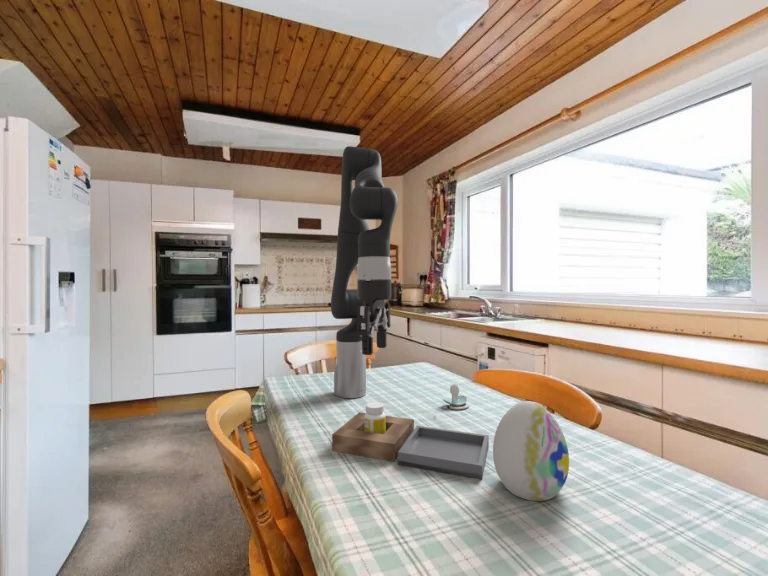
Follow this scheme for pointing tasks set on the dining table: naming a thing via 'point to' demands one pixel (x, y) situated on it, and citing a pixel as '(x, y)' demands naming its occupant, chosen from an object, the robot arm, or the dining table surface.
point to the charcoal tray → (445, 451)
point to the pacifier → (455, 402)
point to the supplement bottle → (375, 418)
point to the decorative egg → (531, 452)
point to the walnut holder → (372, 438)
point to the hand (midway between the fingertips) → (374, 351)
